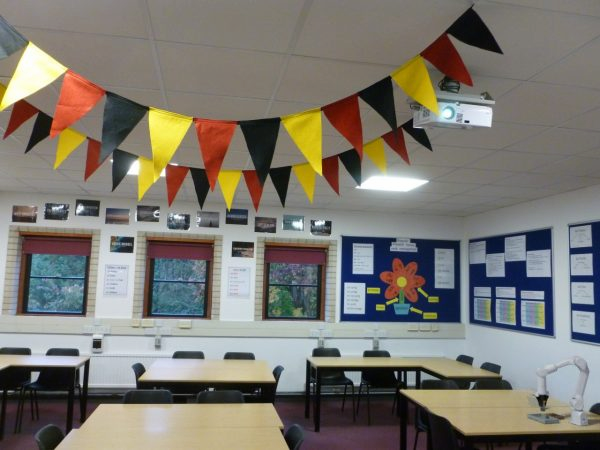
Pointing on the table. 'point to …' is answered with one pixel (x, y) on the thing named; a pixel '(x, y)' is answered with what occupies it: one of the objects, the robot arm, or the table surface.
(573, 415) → the robot arm
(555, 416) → the holder
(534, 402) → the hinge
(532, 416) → the tray
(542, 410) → the pin
